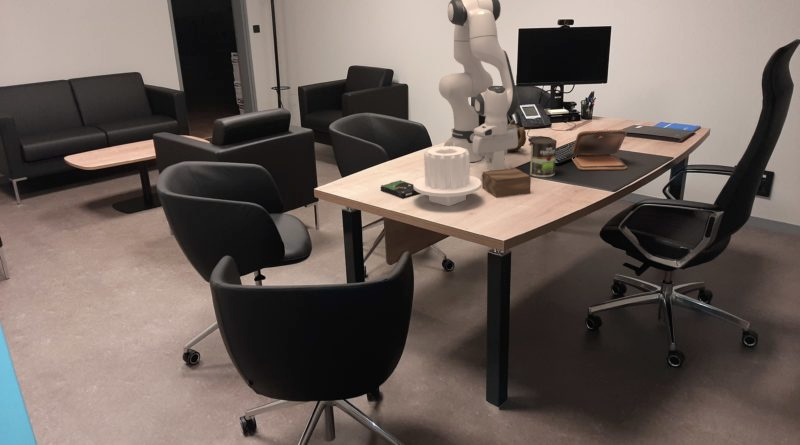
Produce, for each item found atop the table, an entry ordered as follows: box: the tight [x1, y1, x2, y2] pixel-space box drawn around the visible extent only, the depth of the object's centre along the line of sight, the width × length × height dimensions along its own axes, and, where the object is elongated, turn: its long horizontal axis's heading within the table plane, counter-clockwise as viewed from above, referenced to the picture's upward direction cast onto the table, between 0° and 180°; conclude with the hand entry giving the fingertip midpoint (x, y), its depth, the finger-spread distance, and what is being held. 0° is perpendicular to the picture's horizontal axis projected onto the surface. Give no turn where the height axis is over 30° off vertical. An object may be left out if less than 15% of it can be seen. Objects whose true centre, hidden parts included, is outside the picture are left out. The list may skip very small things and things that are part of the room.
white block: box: [486, 150, 505, 171], centre depth 254 cm, size 5×5×8 cm
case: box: [571, 129, 628, 171], centre depth 269 cm, size 20×21×16 cm
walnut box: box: [481, 167, 532, 199], centre depth 241 cm, size 13×14×7 cm
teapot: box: [507, 119, 527, 153], centre depth 296 cm, size 21×12×15 cm, turn 25°
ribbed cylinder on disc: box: [413, 145, 482, 207], centre depth 230 cm, size 25×25×19 cm
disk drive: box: [380, 180, 422, 200], centre depth 246 cm, size 10×3×15 cm
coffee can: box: [529, 137, 557, 178], centre depth 259 cm, size 10×10×14 cm
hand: (495, 161), depth 255 cm, fingers closed on white block, 5 cm apart
